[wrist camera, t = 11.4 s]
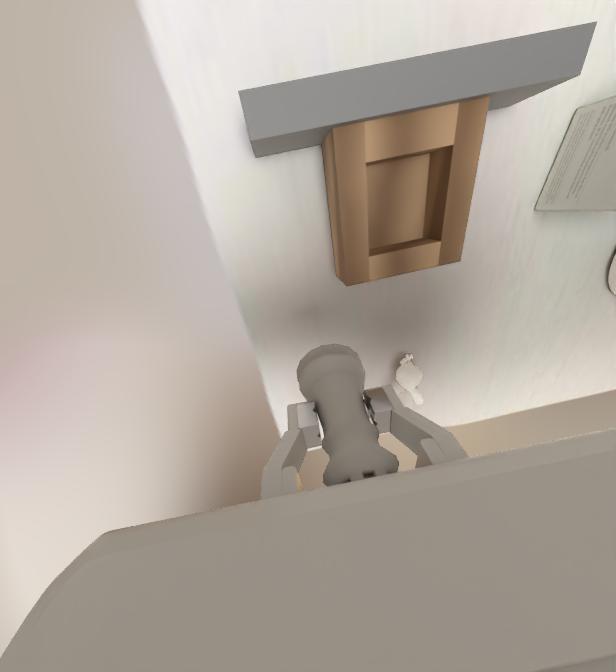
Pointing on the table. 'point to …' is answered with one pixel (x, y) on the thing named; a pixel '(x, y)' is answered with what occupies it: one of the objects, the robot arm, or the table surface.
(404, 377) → the rabbit figurine
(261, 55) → the table surface
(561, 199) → the supplement box
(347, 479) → the rook chess piece
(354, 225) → the socket block
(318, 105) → the backstop board
